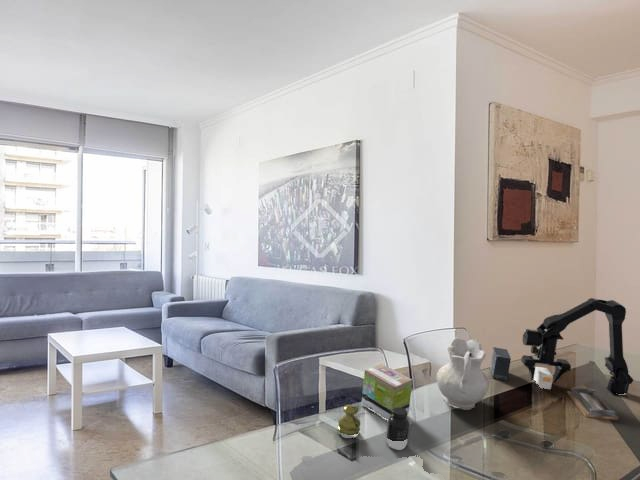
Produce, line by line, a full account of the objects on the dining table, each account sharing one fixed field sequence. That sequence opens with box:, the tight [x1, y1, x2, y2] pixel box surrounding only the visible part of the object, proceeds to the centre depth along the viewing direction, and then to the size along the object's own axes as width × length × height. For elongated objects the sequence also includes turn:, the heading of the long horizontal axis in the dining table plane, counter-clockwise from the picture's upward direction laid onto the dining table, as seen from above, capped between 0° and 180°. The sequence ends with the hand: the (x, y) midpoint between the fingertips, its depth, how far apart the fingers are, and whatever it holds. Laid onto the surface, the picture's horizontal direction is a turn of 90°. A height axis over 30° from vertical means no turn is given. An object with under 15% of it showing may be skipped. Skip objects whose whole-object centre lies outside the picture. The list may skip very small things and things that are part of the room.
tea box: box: [361, 363, 413, 420], centre depth 179 cm, size 15×10×15 cm, turn 42°
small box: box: [489, 347, 512, 381], centre depth 217 cm, size 11×6×10 cm, turn 168°
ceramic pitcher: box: [436, 336, 490, 407], centre depth 187 cm, size 22×20×25 cm
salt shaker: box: [337, 404, 362, 435], centre depth 164 cm, size 7×7×10 cm
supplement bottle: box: [386, 407, 410, 441], centre depth 159 cm, size 7×7×12 cm
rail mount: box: [566, 386, 620, 421], centre depth 195 cm, size 12×18×3 cm, turn 175°
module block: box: [533, 366, 554, 390], centre depth 211 cm, size 4×8×6 cm, turn 175°
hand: (542, 381), depth 211 cm, fingers open, 9 cm apart
